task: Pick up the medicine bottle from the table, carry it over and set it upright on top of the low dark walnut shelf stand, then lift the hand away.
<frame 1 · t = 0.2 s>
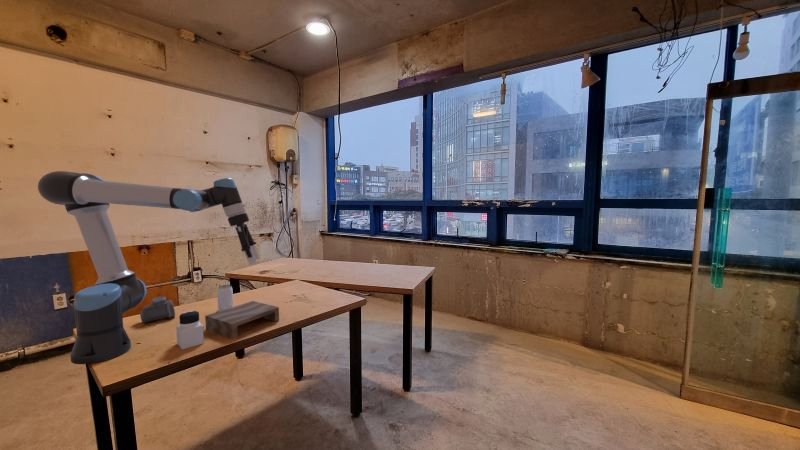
hand: (255, 261, 132), 27 cm above the table, fingers open, 13 cm apart
pipe fitting: (158, 320, 139), on the table
medicine bottle: (190, 344, 116), on the table
shelf stand: (243, 324, 133), on the table
can: (225, 310, 151), on the table
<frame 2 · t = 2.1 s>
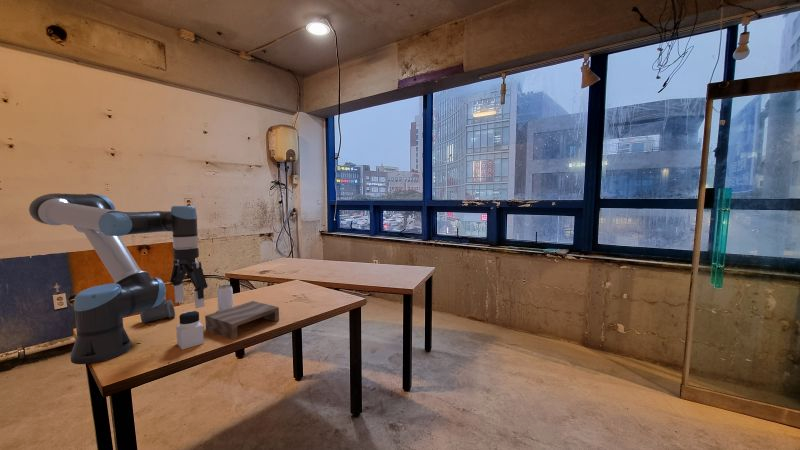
hand: (189, 304, 114), 15 cm above the table, fingers open, 13 cm apart
nothing on the table moved.
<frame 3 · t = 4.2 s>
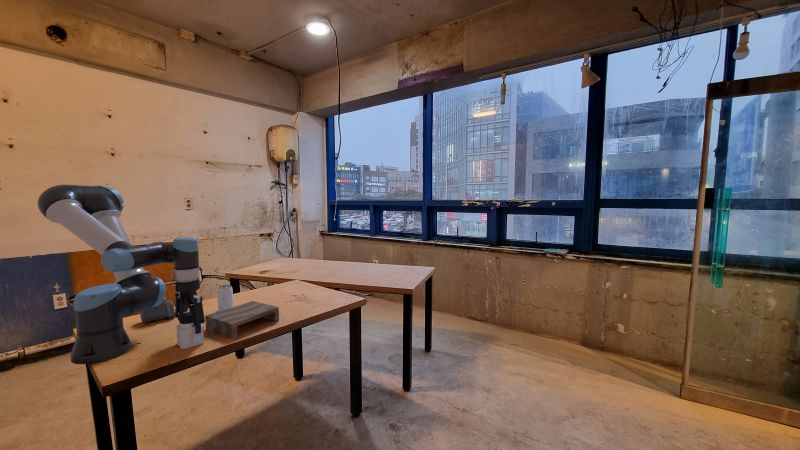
hand: (190, 339, 115), 2 cm above the table, fingers closed on medicine bottle, 8 cm apart
medicine bottle: (190, 344, 116), on the table, touching gripper
everything else where it was.
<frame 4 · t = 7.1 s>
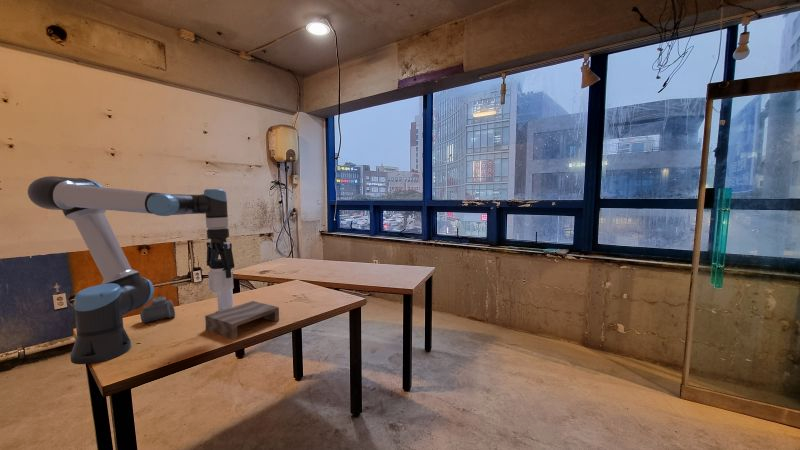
hand: (221, 284, 124), 20 cm above the table, fingers closed on medicine bottle, 8 cm apart
medicine bottle: (221, 289, 124), point 18 cm above the table, touching gripper
everything else where it was.
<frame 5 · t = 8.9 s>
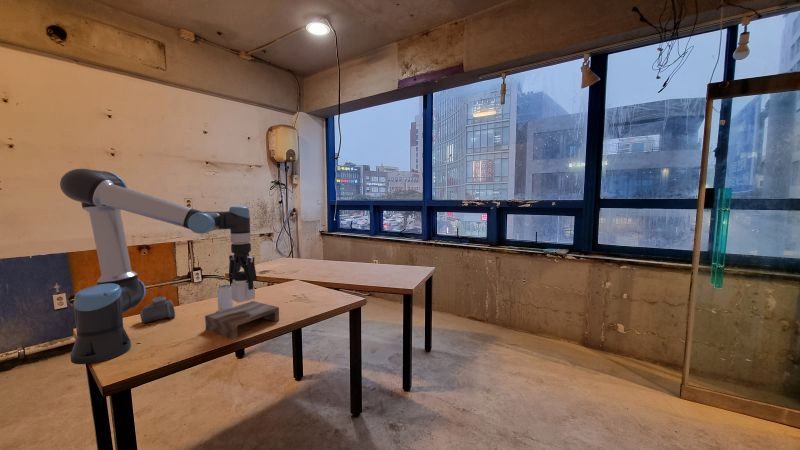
hand: (243, 295, 132), 13 cm above the table, fingers closed on medicine bottle, 8 cm apart
medicine bottle: (243, 299, 133), point 11 cm above the table, touching gripper
everything else where it was.
when the fingers open (9 cm above the table, at t = 10.4 s): medicine bottle drops 1 cm, resting on shelf stand.
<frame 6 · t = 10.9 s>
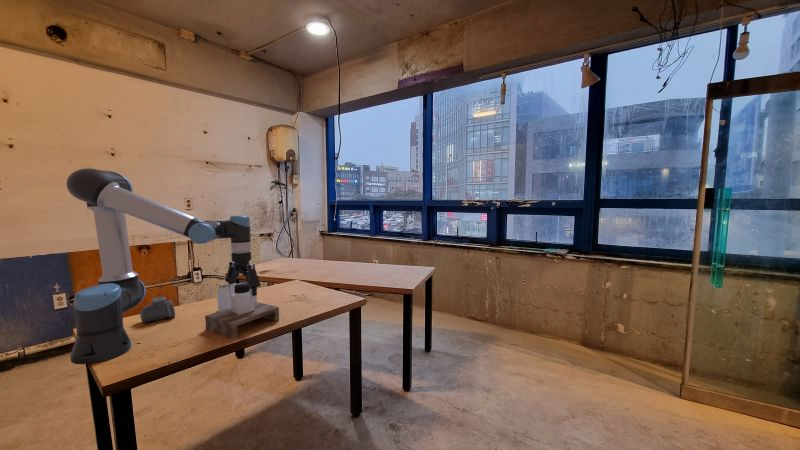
hand: (243, 300, 133), 11 cm above the table, fingers open, 13 cm apart
medicine bottle: (243, 311, 133), point 6 cm above the table, touching shelf stand
everything else where it was.
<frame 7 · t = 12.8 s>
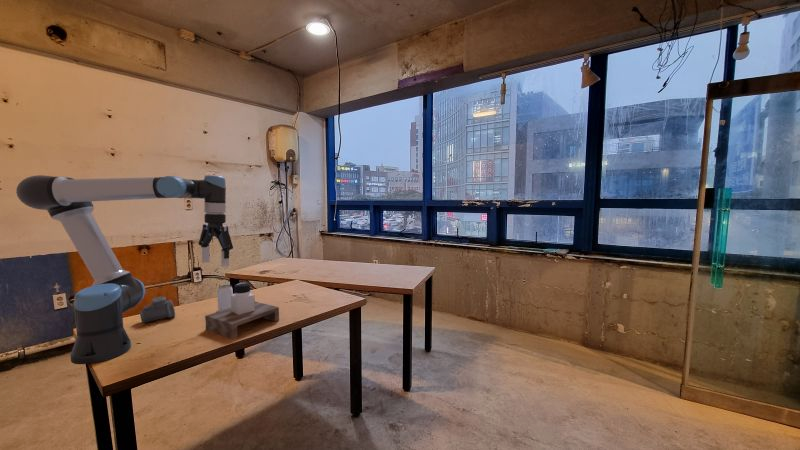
hand: (215, 264, 129), 27 cm above the table, fingers open, 13 cm apart
nothing on the table moved.
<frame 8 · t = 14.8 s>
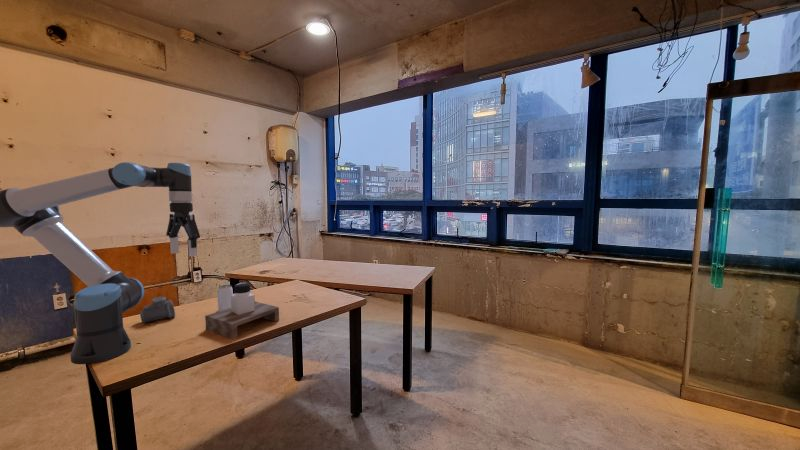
hand: (183, 254, 125), 32 cm above the table, fingers open, 13 cm apart
nothing on the table moved.
at the end: medicine bottle inside the target area on the shelf stand (0.1 cm from its centre), point 5.8 cm above the shelf stand's base; medicine bottle tilted 0°; the gripper is holding nothing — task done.
